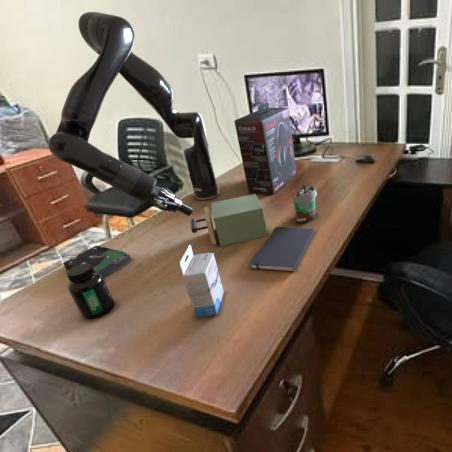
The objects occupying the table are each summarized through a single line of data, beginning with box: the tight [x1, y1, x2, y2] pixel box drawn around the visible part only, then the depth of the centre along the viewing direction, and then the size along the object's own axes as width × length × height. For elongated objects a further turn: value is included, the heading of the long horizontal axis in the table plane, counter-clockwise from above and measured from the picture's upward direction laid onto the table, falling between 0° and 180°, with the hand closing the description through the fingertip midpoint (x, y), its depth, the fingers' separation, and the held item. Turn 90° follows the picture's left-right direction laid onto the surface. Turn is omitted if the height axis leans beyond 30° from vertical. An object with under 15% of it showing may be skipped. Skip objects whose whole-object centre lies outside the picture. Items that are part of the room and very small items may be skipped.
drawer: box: [190, 206, 217, 245], centre depth 111 cm, size 18×11×8 cm, turn 111°
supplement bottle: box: [66, 264, 116, 321], centre depth 81 cm, size 7×7×12 cm
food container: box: [292, 183, 318, 224], centre depth 118 cm, size 12×6×10 cm, turn 168°
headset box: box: [233, 101, 297, 195], centre depth 144 cm, size 25×12×33 cm, turn 162°
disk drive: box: [63, 245, 132, 278], centre depth 101 cm, size 10×3×15 cm
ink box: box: [178, 244, 225, 318], centre depth 79 cm, size 9×5×15 cm, turn 5°
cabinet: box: [210, 193, 268, 247], centre depth 112 cm, size 15×13×10 cm
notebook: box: [249, 226, 315, 273], centre depth 103 cm, size 13×2×21 cm
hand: (191, 212), depth 106 cm, fingers closed
